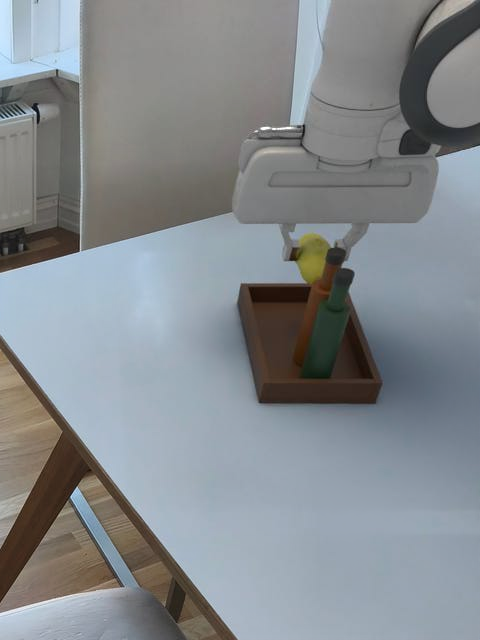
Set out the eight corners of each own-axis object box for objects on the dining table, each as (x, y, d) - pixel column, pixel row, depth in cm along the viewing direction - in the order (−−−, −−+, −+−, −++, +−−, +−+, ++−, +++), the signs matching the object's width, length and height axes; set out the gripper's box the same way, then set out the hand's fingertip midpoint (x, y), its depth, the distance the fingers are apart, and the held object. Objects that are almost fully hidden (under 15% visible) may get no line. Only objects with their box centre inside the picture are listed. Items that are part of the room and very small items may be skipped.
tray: (339, 302, 109) (345, 282, 107) (375, 403, 96) (382, 383, 94) (237, 302, 110) (240, 283, 108) (258, 402, 97) (263, 382, 95)
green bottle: (325, 373, 99) (357, 264, 89) (330, 390, 97) (364, 280, 87) (296, 373, 99) (325, 264, 89) (301, 390, 97) (331, 280, 87)
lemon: (292, 290, 98) (300, 256, 95) (290, 254, 103) (298, 221, 100) (331, 292, 97) (341, 258, 94) (327, 256, 102) (336, 223, 99)
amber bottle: (319, 352, 102) (349, 243, 92) (323, 368, 100) (356, 259, 90) (290, 352, 102) (318, 243, 92) (295, 368, 100) (324, 259, 90)
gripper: (247, 139, 86) (223, 273, 97) (461, 137, 85) (413, 273, 96) (239, 113, 90) (217, 245, 101) (443, 111, 89) (399, 244, 100)
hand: (314, 258), depth 99 cm, fingers closed on lemon, 4 cm apart
